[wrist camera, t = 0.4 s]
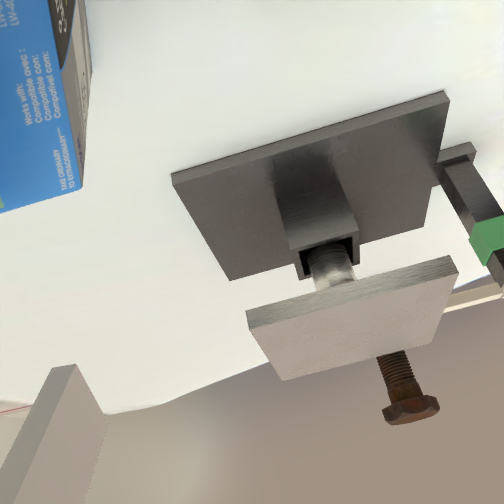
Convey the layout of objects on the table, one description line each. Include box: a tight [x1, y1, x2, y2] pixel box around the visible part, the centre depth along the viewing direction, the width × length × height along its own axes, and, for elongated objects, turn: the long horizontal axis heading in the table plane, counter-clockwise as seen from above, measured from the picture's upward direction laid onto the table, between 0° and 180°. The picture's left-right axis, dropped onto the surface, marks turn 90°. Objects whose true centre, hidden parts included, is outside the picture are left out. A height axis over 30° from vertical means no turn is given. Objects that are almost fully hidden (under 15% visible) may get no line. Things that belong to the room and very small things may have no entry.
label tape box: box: [0, 0, 92, 214], centre depth 16 cm, size 9×4×12 cm, turn 169°
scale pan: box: [246, 244, 503, 381], centre depth 31 cm, size 12×16×7 cm
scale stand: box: [171, 91, 504, 298], centre depth 31 cm, size 15×22×16 cm
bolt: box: [377, 350, 440, 425], centre depth 49 cm, size 6×5×15 cm
